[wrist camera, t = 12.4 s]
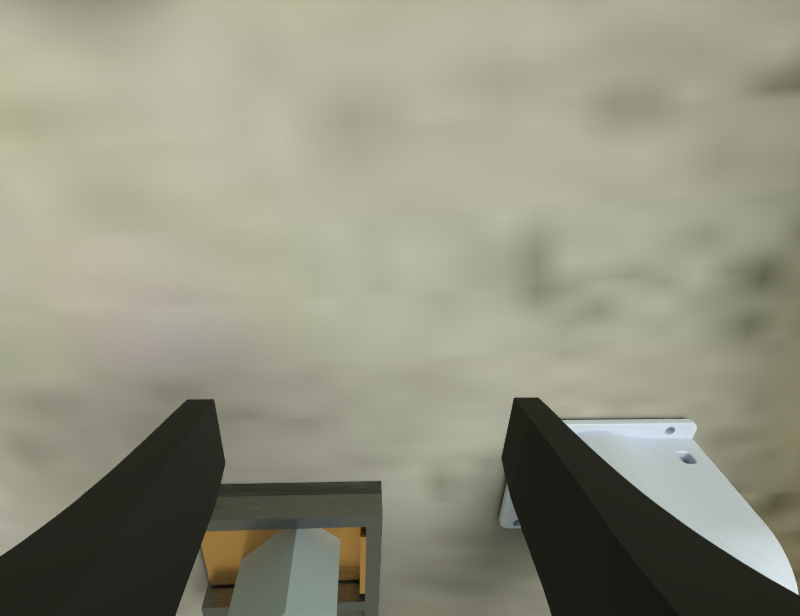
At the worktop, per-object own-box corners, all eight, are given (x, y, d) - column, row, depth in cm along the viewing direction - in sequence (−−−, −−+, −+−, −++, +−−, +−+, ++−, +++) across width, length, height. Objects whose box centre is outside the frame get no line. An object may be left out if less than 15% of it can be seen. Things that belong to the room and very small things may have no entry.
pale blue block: (340, 538, 26) (335, 636, 22) (282, 580, 28) (267, 679, 23) (298, 515, 25) (284, 613, 21) (241, 560, 27) (216, 660, 22)
